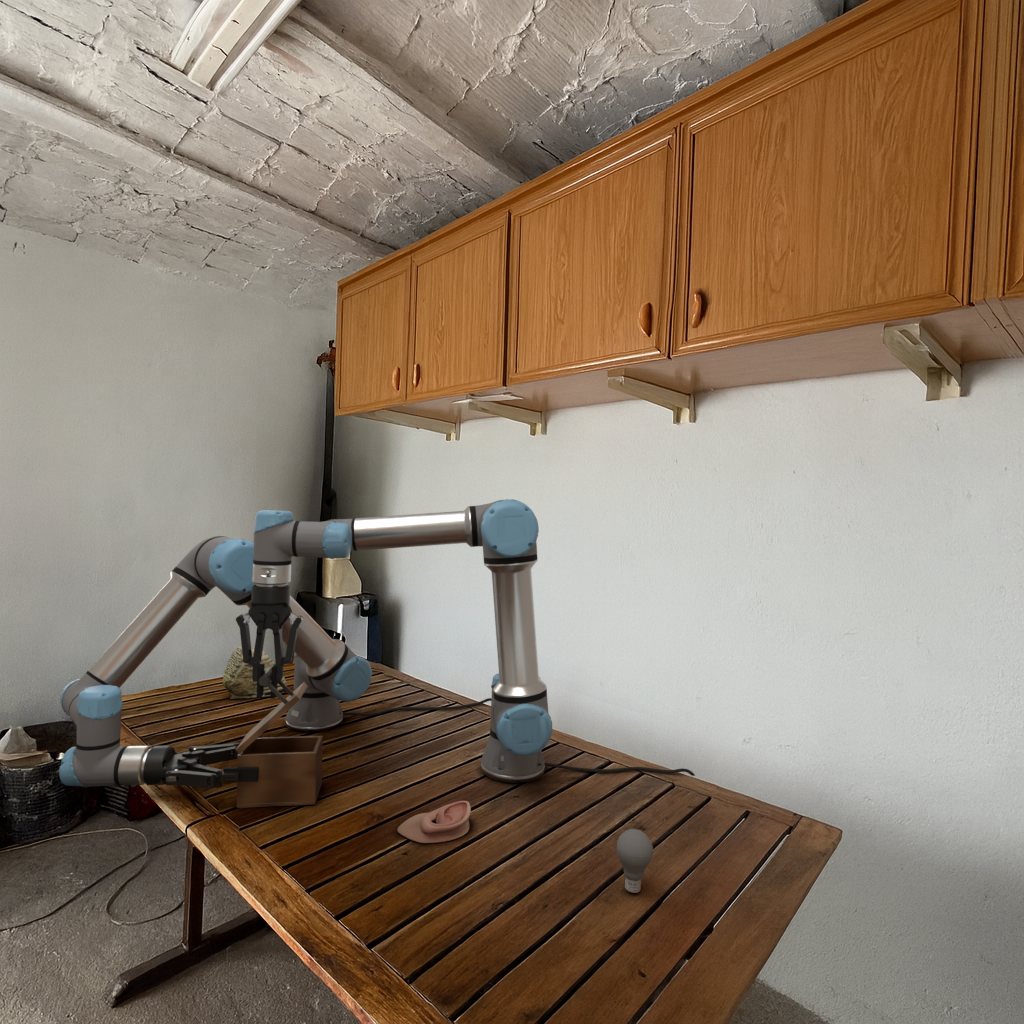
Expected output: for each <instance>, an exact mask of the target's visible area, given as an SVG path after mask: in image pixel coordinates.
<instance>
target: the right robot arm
mask: <svg viewBox="0 0 1024 1024" xmlns="http://www.w3.org/2000/svg"><path fill="white" fill-rule="evenodd" d="M539 530H540V529H539V521H538V519H537V516H536V515H535V513H534V511H533V509H531V508H530V506H528V505H527V504H526V503H525V502H522V501H520V500H517V499H513V498H512V499H511V498H510V499H509V498H506V499H499V500H495V501H493V502H489V503H484V504H478V505H477V504H476V505H468V506H467V507H465V509H464V510H457V511H455V510H454V511H442V512H441V511H440V512H427V513H411V514H399V515H398V514H397V515H384V516H370V517H369V516H367V517H356V518H343V519H342V518H331V519H328V520H325V521H302V520H295V518H294V513H293V512H292V511H291V510H290V511H289V510H273V509H268V510H267V509H263V510H259V511H257V512H256V514H255V519H254V527H253V531H252V533H253V543H254V552H253V573H252V582H253V583H255V585H253V587H252V597H251V607H250V608H249V609H248V611H247V612H245V613H244V614H240V615H238V616H237V617H235V621H236V624H237V627H238V628H239V635H240V642H241V643H240V644H241V647H242V654H243V662H244V663H248V664H251V665H252V667H253V670H252V680H253V681H257V697H256V699H262V698H263V697H262V696H263V692H264V686H261V685H260V684H259V679H260V677H261V676H262V675H263V674H264V667H265V664H260V662H261V661H262V660H261V658H262V652H263V650H264V644H265V637H266V632H267V630H268V629H269V630H271V629H272V630H273V631H272V630H271V631H272V635H273V646H274V647H273V648H274V661H275V662H274V663H275V664H274V665H273V666H272V675H271V678H272V679H271V684H272V685H273V686H274V687H275V688H276V689H277V686H278V681H281V680H282V678H283V676H284V666H285V665H288V664H290V663H292V661H293V659H294V655H295V652H294V650H295V644H296V639H297V633H298V628H299V625H300V624H301V622H302V620H303V616H301V615H300V616H298V615H296V614H294V613H292V609H291V608H290V596H291V586H290V585H289V584H290V583H291V582H292V581H291V580H292V579H291V578H292V558H293V557H295V558H299V557H301V558H318V559H319V558H320V559H330V560H334V559H346V558H348V557H349V556H350V554H351V552H357V551H371V550H384V549H385V550H386V549H399V548H414V547H428V546H429V547H430V546H431V547H432V546H443V545H458V544H466V545H468V546H469V547H470V548H476V547H477V548H478V547H482V557H483V565H484V566H485V567H486V568H487V569H488V570H489V571H490V572H491V581H492V583H491V584H492V596H493V598H492V599H493V609H494V611H493V612H494V624H495V637H496V639H495V640H496V651H497V663H498V665H497V667H498V673H496V674H494V675H493V677H492V680H491V681H492V683H491V685H490V688H491V697H490V698H491V701H490V702H491V703H490V721H489V723H490V724H489V736H488V741H487V743H486V745H485V749H484V751H483V754H482V755H481V756H482V757H481V760H480V771H481V772H482V774H483V775H485V776H486V777H487V778H489V779H491V780H494V781H497V782H500V783H506V784H524V783H530V782H533V781H536V780H538V779H540V778H542V777H543V776H544V774H545V768H546V767H549V768H556V769H563V770H569V771H575V772H585V773H620V772H625V771H644V772H645V771H646V772H653V773H661V774H677V773H688V774H689V775H690V776H692V777H694V776H696V775H695V773H694V772H693V771H692V770H690V769H688V768H682V767H681V768H676V769H663V768H662V769H661V768H654V767H645V766H626V767H618V768H585V767H576V766H569V765H565V764H564V765H563V764H559V763H558V764H557V763H551V762H545V758H544V754H543V751H542V750H543V749H544V748H546V747H547V745H548V744H549V743H550V741H551V738H552V734H553V720H552V717H551V715H550V713H549V703H548V702H549V701H548V689H547V683H546V682H544V681H543V680H542V679H541V677H540V674H539V659H538V646H537V645H538V644H537V634H536V632H537V631H536V618H535V604H534V603H535V602H534V601H535V600H534V589H533V588H534V587H533V576H532V575H533V573H532V569H533V567H534V566H535V565H536V564H537V562H538V560H539V559H538V545H537V543H538V542H537V541H538V537H539V532H540V531H539ZM250 618H251V619H250ZM288 618H290V624H291V625H292V626H291V630H290V635H289V640H288V646H287V645H286V646H287V647H286V650H285V651H286V652H285V654H284V642H283V639H282V625H283V624H284V623H285V622H286V620H287V619H288ZM251 620H252V621H253V623H254V625H256V634H255V635H256V636H255V642H254V648H253V649H254V655H253V657H252V650H251V649H252V641H251V631H250V624H249V623H250V622H251ZM276 697H277V696H276V695H275V694H274V693H273V692H272V691H271V696H270V699H275V698H276Z"/></svg>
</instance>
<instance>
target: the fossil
mask: <svg viewBox="0 0 1024 1024" xmlns="http://www.w3.org/2000/svg"><path fill="white" fill-rule="evenodd" d="M251 650H252V657H253V655H254V648H251ZM261 660H262V661H261V662H260V664H265V667H264V673H265V672H266V670H267V669H268V668H272V666H273V665H274V664H276V663H275V662H274V661H275V660H273V659H272V658H271V657H270V656H269V655H268V654H267V653H266V652H265V650H264V649H263V652H262V658H261ZM252 670H253V667H252V665H251V664H248V663H244V662H243V654H242V646H238V647H237V648H236V649H235V650H233V651H232V653H231V656H230V657H229V659H228V660H227V663H226V666H225V668H224V671H223V675H222V676H223V677H222V685H223V687H224V688H225V690H226V691H228V693H229V698H230V699H250V698H257V681H253V680H252ZM281 681H282V682H283V683H284V684H285V685H286V686H287V680H286V678H285V676H284V675H283V678H282V680H281ZM270 683H271V681H270ZM287 687H288V686H287ZM277 690H278V691H279V692H280V693H281V694H284V693H285V692H286V691H285V690H284V689H283V688H282V687H281V686H280V685H279V684H278V686H277ZM264 697H271V690H270V689H269V688H268V687H267V686H264V692H263V696H262V697H261V698H264Z"/></svg>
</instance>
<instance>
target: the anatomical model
mask: <svg viewBox="0 0 1024 1024" xmlns="http://www.w3.org/2000/svg"><path fill="white" fill-rule="evenodd" d="M471 813H472V808H471V804H470V802H469V801H468V800H459V801H454V802H451V803H449V804H446V805H442V806H441V807H439V808H436V809H434V810H432V811H429V812H421V813H417V814H415V815H413V816H411V817H409V818H407V819H406V820H405V821H403V822H402V823H401V824H400V825H399V826H398V827H397V829H396V830H397V833H398V834H400V835H401V836H403V837H404V838H406V839H408V840H410V841H414V842H416V843H419V844H434V843H443V842H448V841H452V840H456V839H459V838H461V837H463V836H465V835H466V834H467V833H469V830H470V821H469V819H470V817H471Z"/></svg>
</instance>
